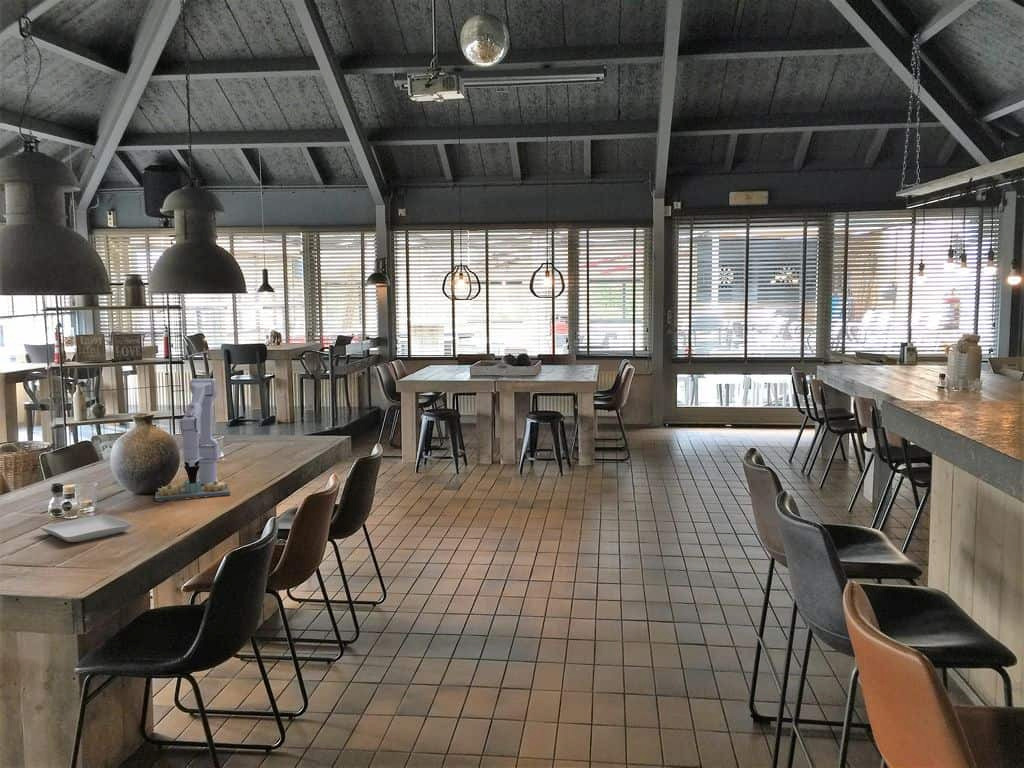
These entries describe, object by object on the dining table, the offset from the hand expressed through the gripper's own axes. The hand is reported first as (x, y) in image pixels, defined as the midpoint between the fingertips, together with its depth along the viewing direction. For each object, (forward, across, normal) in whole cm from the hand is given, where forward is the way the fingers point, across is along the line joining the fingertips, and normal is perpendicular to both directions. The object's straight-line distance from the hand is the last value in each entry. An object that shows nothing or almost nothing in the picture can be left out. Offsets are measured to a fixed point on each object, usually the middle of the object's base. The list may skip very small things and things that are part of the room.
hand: (192, 481), depth 317 cm
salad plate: (+6, -44, +33) cm, 55 cm away
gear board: (+5, 0, 0) cm, 5 cm away
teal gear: (+4, 0, 0) cm, 4 cm away
